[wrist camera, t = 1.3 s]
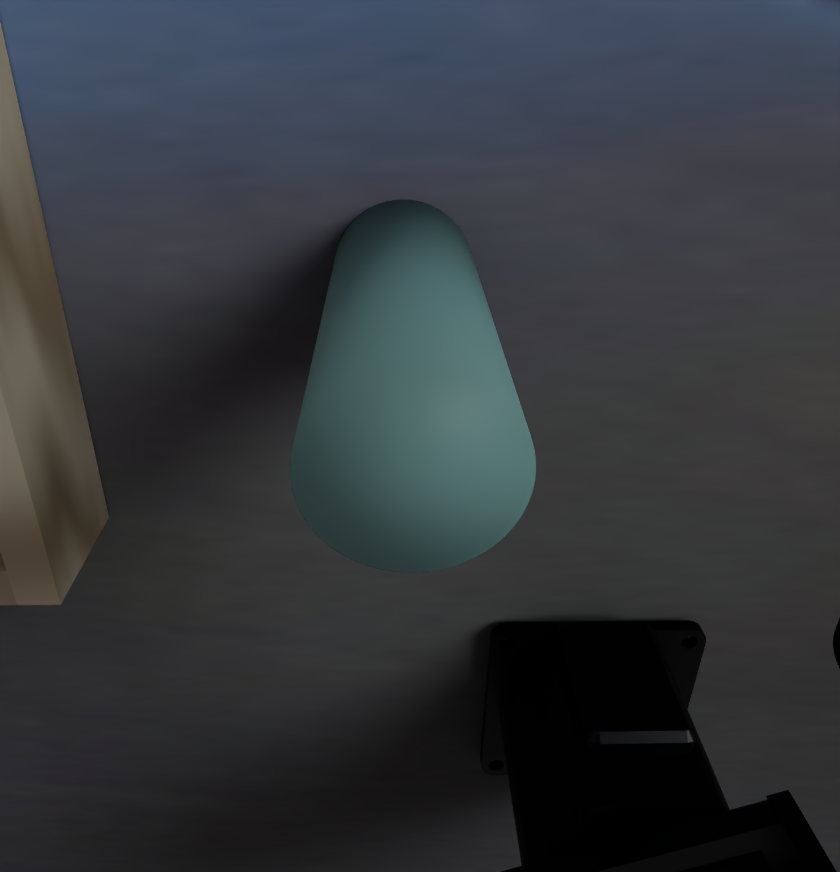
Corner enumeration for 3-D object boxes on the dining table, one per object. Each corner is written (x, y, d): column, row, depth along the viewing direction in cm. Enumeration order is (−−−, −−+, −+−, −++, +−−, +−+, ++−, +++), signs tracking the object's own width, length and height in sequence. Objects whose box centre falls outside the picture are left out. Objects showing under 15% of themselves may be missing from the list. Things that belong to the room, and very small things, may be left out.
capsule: (468, 334, 19) (524, 571, 11) (336, 333, 18) (297, 573, 11) (475, 200, 17) (547, 364, 9) (332, 198, 17) (281, 363, 9)
